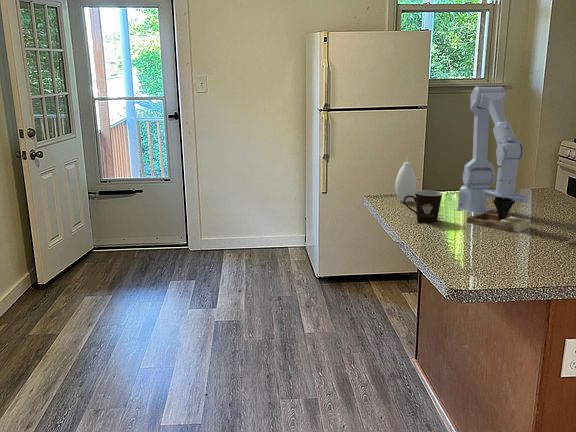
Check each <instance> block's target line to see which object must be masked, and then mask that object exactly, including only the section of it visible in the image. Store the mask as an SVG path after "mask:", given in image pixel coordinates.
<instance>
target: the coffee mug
mask: <svg viewBox="0 0 576 432" xmlns="http://www.w3.org/2000/svg"><path fill="white" fill-rule="evenodd" d="M408 197H412V199H413V200H414V202H415V205H416V206H415V207H416V208H415V209H416V210H415V209H413V208H412V207H411V206H409V205H408V203H407V202H405V200H406V198H408ZM442 197H443V193H442V192H441V191H437V190H428V189H427V190H425V189H424V190H421V189H420V190H417V191H415V195H414V196H411V195H408V196H406V197H405V198H404V202H403V204H404V205H405V206H406V208H407V209H409V210H410V211H411V212H413V213H415V215H416V223H418V224H434V223H437V222H438V217H439V212H440V207H441V202H442Z"/></svg>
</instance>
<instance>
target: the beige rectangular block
mask: <svg viewBox="0 0 576 432" xmlns="http://www.w3.org/2000/svg"><path fill="white" fill-rule="evenodd" d="M507 217H508V218H505V219H503V220H500V224H504V225H509V226H513V231H512V232H517V233H520V232H522V231H525V230H526V229H530V227H531V219H525V218H520V217H517V216H507Z"/></svg>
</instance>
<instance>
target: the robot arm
mask: <svg viewBox="0 0 576 432" xmlns="http://www.w3.org/2000/svg"><path fill="white" fill-rule="evenodd" d="M505 100H506V91H505V88H504V87H503V86H475V87H474V88H473V89H472V91H471V93H470V105H469V107H470V111H471V112H472V113H473V134H472V135H473V138H472V139H473V140H472V141H473V143H472V159H471V160H469V162H467V163H465V164H464V166H463V168H464V169H463V172H462V183H463V185H462V186H461V187H460V189H459V191H458V201H457V208H456V210H457V211H467V212H471V213H477V214H480V213H483V212H486V213H487V212H489V211H491V208H487V205H488V198H489V197H490V198H494V199H492V202H493V205H494V206H495V208H496V213H497V215H498V218H499V221H500V220H503V219H505V218H506V217H508V214H509V211H510V210H511V209H512V207H513V205H514V204H515V202H517V203H518V202H519V203H522V204H527V203H529V196H528V195H523V194H519V193H516V185H517V176H518V175H517V174H518V169H519V167H518V165H519V161H520V160H521V159H522V158H523V155H524V147H523V143H522V142H521V141H520V140H519V139H518V138H516V136H515V132H514V130H513V127H512V124H511V123H510V122H507V118H506V113H505V109H504V103H505ZM490 117H491V120H492V121H493V123H494V127H493V129H492V132H493V135H494V139H495V141H496V146H497V147H496V150H495V155H496V165H497V175H496V174H495V168H494V166H495V165H494V164H493V163H492V162H491V161H489V159H488V154H489V153H488V152H489V151H488V150H489V147H488V146H489V124H490V123H489V122H490V121H489V120H490ZM495 179H496V182H495ZM494 183H496V184H495V185H496V186H495V189H494V190H493V189H490V188H491V186H493V184H494Z"/></svg>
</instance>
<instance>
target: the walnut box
mask: <svg viewBox="0 0 576 432" xmlns="http://www.w3.org/2000/svg"><path fill="white" fill-rule="evenodd" d="M508 217H509V216H507V217H506V218H508ZM466 223H467V224H471V225H475V226H476V225H477V226H481V227H484V228H489V229H490V228H491V229H496V230H500V231H503V232H509V233H511V232H514V231H513V226H509V225H504V224H500V221H499V218H498V214H495V213H490V212H487V211H486V212H483V213H477V214H474V215H472V216H469V217H467V219H466Z"/></svg>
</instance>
